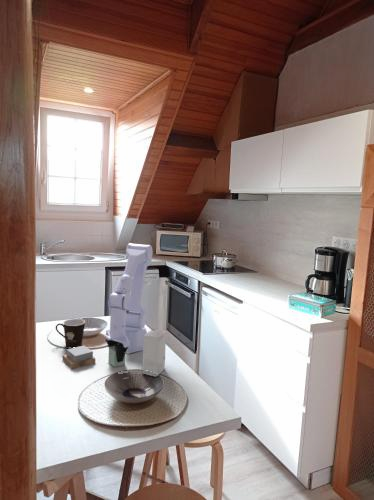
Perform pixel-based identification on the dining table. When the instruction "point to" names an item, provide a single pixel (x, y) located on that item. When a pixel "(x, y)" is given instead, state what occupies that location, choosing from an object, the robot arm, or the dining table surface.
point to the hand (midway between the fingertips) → (116, 359)
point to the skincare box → (154, 351)
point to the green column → (114, 357)
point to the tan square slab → (78, 364)
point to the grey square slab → (79, 353)
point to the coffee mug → (73, 332)
